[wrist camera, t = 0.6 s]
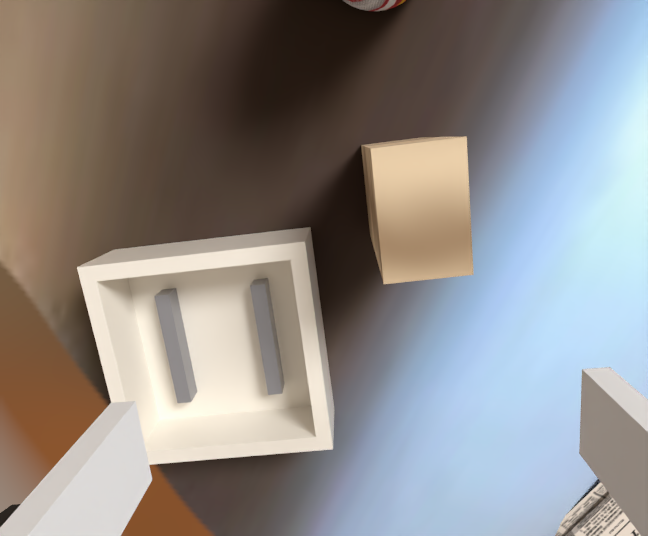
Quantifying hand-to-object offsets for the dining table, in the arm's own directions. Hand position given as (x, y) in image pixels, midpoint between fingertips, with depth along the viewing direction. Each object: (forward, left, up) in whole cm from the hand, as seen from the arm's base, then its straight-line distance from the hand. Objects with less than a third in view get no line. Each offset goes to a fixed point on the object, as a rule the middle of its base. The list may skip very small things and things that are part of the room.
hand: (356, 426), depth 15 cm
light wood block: (-5, +4, -20) cm, 21 cm away
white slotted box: (+4, -9, -20) cm, 23 cm away
